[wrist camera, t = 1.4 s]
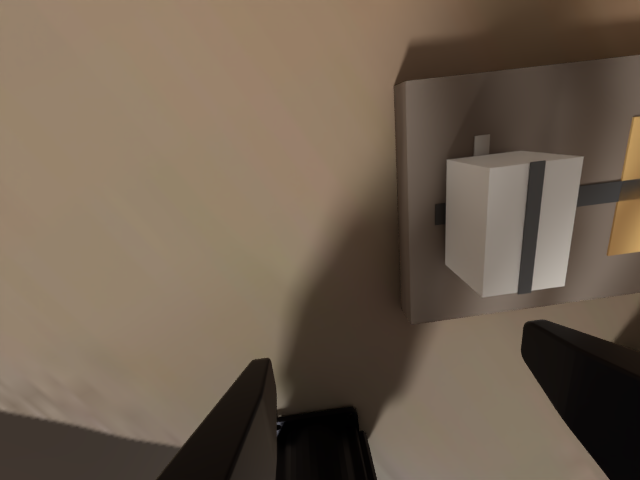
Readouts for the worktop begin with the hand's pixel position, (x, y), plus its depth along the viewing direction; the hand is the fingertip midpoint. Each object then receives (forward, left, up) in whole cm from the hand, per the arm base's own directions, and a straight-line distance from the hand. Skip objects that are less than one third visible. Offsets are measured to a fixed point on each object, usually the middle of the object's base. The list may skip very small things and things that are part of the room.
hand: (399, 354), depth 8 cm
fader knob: (+8, 0, -11) cm, 13 cm away
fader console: (+13, 0, -13) cm, 18 cm away
